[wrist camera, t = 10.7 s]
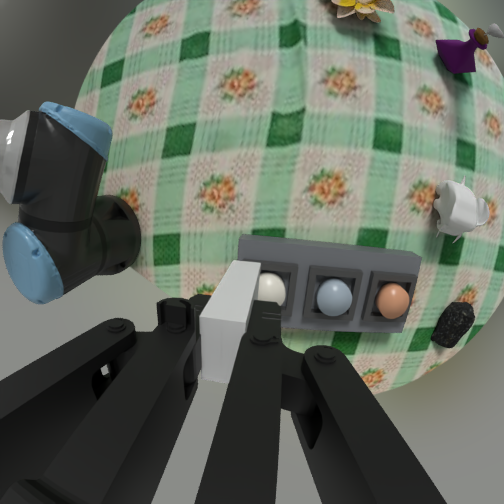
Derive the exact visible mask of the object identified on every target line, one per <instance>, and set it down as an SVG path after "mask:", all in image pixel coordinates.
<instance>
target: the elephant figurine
mask: <svg viewBox="0 0 504 504" xmlns="http://www.w3.org/2000/svg"><path fill="white" fill-rule="evenodd" d="M465 177H466V176H464V178H463V180H462V182H461V183H460V184H459V183H457V182H454V181H451V180H445V181H443V182H441V183H440V184H439V185H438V186H437V188H436V193H437V194H438V195H440V198H439V199H435V200H434V203H433V207H434V208H435V209H437V210H438V212H439V214H440V218H441V219H438V220H437V228H438V230H439V231H438V233H437V236H438V234H439V232H440V231H441V232H443V233H446V234H449V235H453V236H456V235H458V236H457V238H456V239H455V240H454V242H455V241H457V240H458V239H459V238H460V237H461V236H462V233H463V232H470V231H472V230H474V229H475V227H477V226H481V225H483V224H485V223H486V221H487V220H488V218H489V208H488V205H487V203H486V202H485V200H484V199H482V198H478V199H476V197H475V196H474V194H473V192H472V191H471V190H470V189H469V188H467V187H465V186H464V184H465ZM437 236H436V238H437ZM454 242H453V243H454Z"/></svg>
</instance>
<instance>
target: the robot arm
mask: <svg viewBox="0 0 504 504" xmlns="http://www.w3.org/2000/svg"><path fill="white" fill-rule="evenodd" d="M111 141H112V130H111V128H110V126H109V125H108V124H107V123H105V122H103V121H101V120H99V119H97V118H95V117H93V116H91V115H88V114H86V113H83V112H81V111H78V110H75V109H72V108H69V107H64V106H62V105H59V104H56V103H52V102H45V103H43V104H42V106H41V107H40V108H39V112H35V111H29V110H27V111H26V112H24V113H23V114H22V115H21V116H19V117H18V118H17V119H15V120H13V121H9V120H0V192H1V193H2V195H3V196H4V197H5V199H6V200H7V202H8V203H10V204H20V207H19V216H18V223H17V222H15V223H13V224H11V226H9V227H8V228H7V230H6V232H5V233H4V236H3V255H4V260H5V264H6V267H7V270H8V272H9V275H10V277H11V279H12V281H13V283H14V284H15V286H16V287H17V289H18V290H19V291H20V293H22V295H23V296H24V297H26V298H27V299H28V300H29V301H31V302H33V303H36V304H46V303H48V302H50V301H52V300H54V299H58V298H60V297H62V296H63V295H64V294H66V293H67V292H69V291H71V290H72V289H74V288H75V287H77V286H79V285H80V284H82V283H84V282H85V281H87V280H88V279H90V278H92V277H93V276H95V275H114V274H117V273H120V272H122V271H123V270H125V269H127V268H128V267H129V266H130V265H132V263H133V262H134V261H135V259H136V257H137V255H138V253H139V249H140V244H141V232H140V226H139V223H138V220H137V217H136V215H135V213H134V212H133V210H132V209H131V207H130V206H129V205H128V204H127V203H126V202H125V201H124V200H122V199H121V198H119V197H116V196H113V195H102V196H97V195H98V190H99V186H100V182H101V179H102V175H103V171H104V168H105V164H106V162H107V161H108V152H109V148H110V144H111ZM260 268H261V263H257V262H247V261H237V260H233V262H232V263H231V265H230V266H229V268H228V270H227V271H226V273H225V275H224V276H223V278H222V280H221V281H220V283H219V285H218V286H217V288H216V290H215V291H214V293H213V295H212V296H210V295H203V294H197V295H195V296H193V297H191V298H190V299H189V300H188V299H183V298H167V299H163V300H161V301H159V302H157V314H158V315H157V316H158V326H157V327H156V328H155V329H154V331H153V332H136V331H135V326H134V324H133V322H131V321H130V320H127V319H123V318H114V319H110V320H107V321H104V322H103V323H101V324H99V325H97V326H95V327H94V328H92V329H90V330H88V331H87V332H85V333H83V334H81V335H80V336H78V337H76V338H74V339H72V340H71V341H69V342H67V343H65V344H63V345H62V346H60V347H58V348H56V349H55V350H53V351H51V352H50V353H48V354H46V355H44V356H42V357H41V358H39V359H37V360H36V361H34V362H32V363H30V364H29V365H27V366H25V367H24V368H22V369H20V370H18V371H16V372H15V373H13V374H11V375H10V376H8V377H6V378H5V379H3V380H1V381H0V504H151V502H152V500H153V498H154V495H155V492H156V490H157V488H158V485H159V483H160V480H161V478H162V475H163V473H164V470H165V468H166V465H167V463H168V460H169V458H170V455H171V452H172V450H173V448H174V445H175V443H176V440H177V438H178V435H179V433H180V430H181V428H182V425H183V423H184V420H185V418H186V415H187V413H188V410H189V408H190V405H191V403H192V401H193V398H194V395H195V393H196V390H197V388H198V379H197V378H198V374H199V372H200V370H201V379H204V380H210V381H216V382H222V383H229V384H228V388H227V391H226V395H225V399H224V402H223V406H222V410H221V413H220V417H219V420H218V424H217V427H216V431H215V434H214V438H213V441H212V445H211V448H210V452H209V455H208V459H207V462H206V466H205V469H204V473H203V476H202V480H201V483H200V486H199V490H198V493H197V497H196V500H195V504H275V499H276V484H277V470H278V455H279V435H280V414H281V413H280V412H281V409H284V410H288V411H291V417H292V420H293V423H294V425H295V429H296V431H297V434H298V437H299V440H300V443H301V446H302V448H303V451H304V454H305V457H306V460H307V463H308V465H309V468H310V471H311V474H312V477H313V479H314V482H315V485H316V488H317V490H318V493H319V496H320V499H321V502H322V504H447V503H446V502H445V500H444V498H443V497H442V495H441V494H440V492H439V491H438V489H437V488H436V486H435V485H434V483H433V482H432V480H431V479H430V477H429V476H428V474H427V473H426V471H425V470H424V468H423V467H422V465H421V464H420V462H419V461H418V459H417V458H416V456H415V455H414V453H413V452H412V450H411V449H410V448H409V446H408V445H407V443H406V442H405V440H404V439H403V437H402V436H401V434H400V433H399V432H398V430H397V429H396V427H395V426H394V424H393V423H392V421H391V420H390V419H389V417H388V416H387V414H386V413H385V411H384V410H383V408H382V407H381V406H380V404H379V403H378V401H377V400H376V398H375V397H374V396H373V394H372V393H371V391H370V390H369V388H368V387H367V386H366V384H365V383H364V381H363V380H362V378H361V377H360V376H359V374H358V373H357V371H356V370H355V369H354V367H353V366H352V364H351V363H350V362H349V360H348V359H347V357H346V356H345V355H344V354H343V353H342V352H341V351H340V350H338V349H336V348H334V347H331V346H326V345H317V346H313V347H310V348H309V349H307V350H306V351H305V353H304V354H303V353H299V352H296V351H293V350H291V349H289V348H287V347H286V346H285V345H284V344H283V343H282V339H281V307H280V306H279V304H278V303H277V302H271V301H261V300H258V291H259V280H260ZM106 364H107V368H108V371H109V373H107V374H106V375H102V372H101V368H102V367H103V366H105V365H106Z"/></svg>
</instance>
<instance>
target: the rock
mask: <svg viewBox="0 0 504 504" xmlns="http://www.w3.org/2000/svg"><path fill="white" fill-rule="evenodd" d="M473 311H474V310H473V307H472V306H471V304H469V303H467V302H463V303H462V302H452V303H451V304H450V305H449V306H448V307H447V308H446V309H445V312H444V313H443V314H442V315H441V317H440V320H439V322H438V325H437V327H436V329H435V331H434V333H433V335H432V336H431V340H432V341H435V342H436V343H437V344H438V345H441V346H443V347H446V348H453V347H454V346H455V345H456V344H457V342H458V341H459V340H460V339H461V337H462V336H463V335H464V334H465V333H467V331H468V330H469V329H470V328H471V326H472V325H473V323H474V320H475V316H474V313H473Z"/></svg>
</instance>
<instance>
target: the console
mask: <svg viewBox="0 0 504 504" xmlns="http://www.w3.org/2000/svg"><path fill="white" fill-rule="evenodd" d="M421 260H422V257H420V256H418V255H417V254H415V253H413V252H411V251H402V250H394V249H385V248H376V247H367V246H358V245H349V244H339V243H330V242H320V241H310V240H300V239H290V238H280V237H269V236H258V235H247V234H242V235H241V237H240V238H239V244H238V261H247V262H257V263H261V268H260V274H261V273H264V272H272V273H275V274H277V275H279V276H280V277H281V278H282V279H283V281H284V284H285V300H284V302H283V303H282V305H281V306H280V307H281V327H285V328H297V329H310V330H326V331H347V332H384V333H402V330H403V327H404V324H405V322H406V318H407V315H408V312H409V308H410V305H411V301H412V298H413V294H414V290H415V286H416V282H417V278H418V273H419V269H420V264H421ZM330 278H338V279H341V280H342V281H344V282H345V283H346V285H347V286H348V288H349V290H350V291H351V294H352V303H351V305H350V307H349V309H348V310H347V311H346V312H345V313H343V314H341V315H338V316H328V315H326V314H324V313H323V312H322V311H321V310H320V308H319V306H318V303H317V299H316V291H317V288H318V286H319V285H320V284H321V283H322V282H323V281H325V280H327V279H330ZM388 283H397V284H399V285H400V286H401V287H402V288H403V289H404V290H405V291H406V292H407V293H408V295H409V305H408V307H407V309H406V311H405V312H404V313H403V314H402V315H401V316H399V317H397V318H394V319H388V318H386V317H384V316H383V315H382V313H381V312H380V311H379V309H378V308H377V306H376V303H375V298H376V294H377V292H378V291H379V289H380V288H381V287H382V286H384V285H385V284H388Z"/></svg>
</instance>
